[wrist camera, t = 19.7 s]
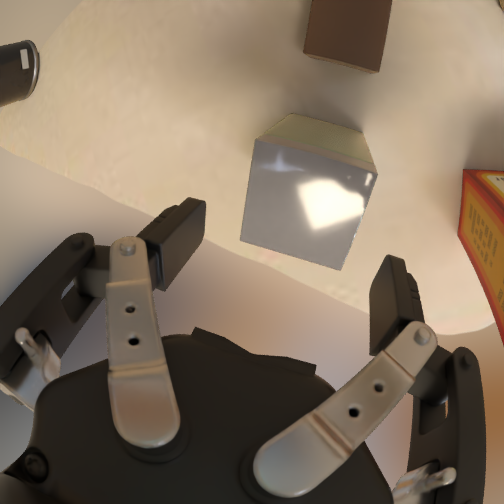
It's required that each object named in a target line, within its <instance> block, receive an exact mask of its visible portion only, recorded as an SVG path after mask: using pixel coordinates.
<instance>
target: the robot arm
mask: <svg viewBox="0 0 504 504" xmlns="http://www.w3.org/2000/svg"><path fill="white" fill-rule="evenodd" d="M38 69H39V58H38V52H37V48H36V46H35V44H34V43H33V42H32V41H30V40H25V41H21V42H18V43H13V44H8V45H3V46H0V107H2V106H5V105H8V104H11V103H13V102H16V101H20V100H24V99H26V98H28V97H29V96H30V94H31V93H32V91H33V89H34V87H35V84H36V81H37V76H38ZM205 215H206V202H205V201H203V200H199V199H195V198H191V197H188V198H187V199H186V200H185V201H183V202H182V203H181V204H180V205H179V206H177V205H174V206H172V207H169V208H167V209H165V210H164V211H163V212H162V213H161V214H160V215H159V216H157V217H156V218H155V219H154V220H153V221H152V222H151V223H150V224H149V225H147V226H146V227H145V228H144V229H143V230H142V231H141V232H140V233H139V234H138V235H137V236H136V237H133V236H128V237H123V238H120V239H118V240H116V241H115V242H114V243H113V244H112V245H111V246H101V245H95V243H94V238H93V236H92V235H90V234H88V233H76V234H73V235H71V236H69V237H68V238H66V239H65V240H64V241H63V242H62V243H61V244H60V245H59V246H58V247H57V248H56V249H54V251H52V252H51V254H49V255H48V256H47V257H46V258H45V259H44V260H43V261H42V262H41V263H40V264H39V265H38V266H37V267H36V268H35V269H34V270H33V271H32V272H31V273H30V274H29V275H28V276H27V277H26V279H25V280H24V281H23V282H22V283H21V284H20V285H19V286H18V287H17V288H16V289H15V290H14V292H13V293H12V294H11V295H10V296H9V297H8V298H7V300H6V301H5V302H4V303H3V304H2V305H1V306H0V389H1V390H2V391H3V392H4V393H5V394H7V395H9V396H10V397H11V398H12V399H13V400H14V401H15V402H17V403H18V404H20V405H26V406H27V407H28V408H29V409H31V410H32V411H33V412H34V419H33V428H32V433H31V437H30V441H29V444H28V446H27V448H26V450H25V452H24V453H23V454H22V455H21V456H20V457H19V458H18V459H17V460H16V461H15V462H14V463H12V464H11V465H10V466H9V467H7V468H6V469H5V470H3V471H2V472H1V473H0V504H483V497H484V486H485V471H486V424H485V409H484V400H483V399H484V398H483V390H482V382H481V375H480V368H479V363H478V360H477V358H476V356H475V355H474V353H473V352H471V351H470V350H469V349H468V348H465V347H458V348H457V349H456V350H455V351H454V352H453V353H451V352H449V351H447V350H445V349H444V348H442V347H440V346H439V345H437V342H438V341H437V337H436V334H435V333H434V331H433V330H432V329H431V328H430V327H429V326H428V325H427V324H425V321H424V315H423V310H422V305H421V301H420V295H419V293H418V292H419V291H418V286H417V283H416V281H415V279H414V278H413V276H412V275H411V274H410V273H407V270H406V266H405V261H404V259H401V258H398V257H395V256H392V255H389V254H388V255H386V257H385V258H384V260H383V262H382V264H381V266H380V268H379V270H378V272H377V274H376V276H375V278H374V280H373V282H372V285H371V288H370V293H369V302H370V353H369V354H370V355H371V356H375V357H374V358H373V359H372V360H371V361H370V362H369V363H368V364H367V365H366V366H365V367H364V368H363V369H362V370H361V371H360V372H358V373H357V374H356V375H355V376H354V377H353V378H352V379H351V380H350V381H348V382H347V383H346V384H345V385H344V386H343V387H341V388H340V389H339V390H338V391H337V392H336V391H335V389H334V388H333V387H332V386H331V385H330V384H329V383H328V382H326V381H325V380H324V379H322V378H321V377H319V376H317V375H316V374H315V371H316V365H315V364H311V363H307V362H303V361H300V360H296V359H293V358H289V357H282V356H269V355H256V354H252V353H249V352H248V351H247V350H245V349H243V348H241V347H240V346H238V345H236V344H235V343H233V342H231V341H230V340H228V339H226V338H225V337H222V336H219V335H217V334H214V333H211V332H208V331H205V330H202V329H200V328H197V327H195V328H194V330H193V332H192V334H191V335H186V334H176V335H168V336H163V337H161V335H160V330H159V325H158V319H157V314H156V309H155V303H154V297H153V291H154V289H155V288H157V289H159V290H162V291H166V289H167V288H168V287H169V285H170V284H171V282H172V281H173V280H174V278H175V277H176V276H177V274H178V273H179V272H180V270H181V269H182V268H183V266H184V265H185V264H186V262H187V261H188V260H189V258H190V257H191V256H192V254H193V253H194V252H195V250H196V249H197V248H198V247H199V245H200V244H201V242H202V240H203V236H204V231H205ZM72 280H73V282H74V286H73V287H72V288H71V289H70V290H69V291H68V293H67V294H66V295H65V296H64V297H63V299H62V300H61V296H62V293H63V291H64V289H65V288H66V287H67V286H68V285H69V283H70V282H71V281H72ZM103 298H105V299H106V332H107V349H108V359H105V360H103V361H100V362H98V363H95V364H92V365H90V366H87V367H85V368H82V369H79V370H77V371H74V372H72V373H69V374H66V375H63V376H61V377H60V376H59V372H60V369H61V362H60V359H61V357H62V356H63V354H64V353H65V351H66V349H67V348H68V347H69V345H70V344H71V342H72V341H73V339H74V338H75V337H76V335H77V334H78V332H79V331H80V330H81V328H82V327H83V325H84V324H85V323H86V321H87V320H88V318H89V317H90V316H91V314H92V313H93V312H94V310H95V309H96V308H97V306H98V305H99V304H100V302H101V301H102V300H103ZM407 392H408V393H409V394H411V395H413V397H414V398H413V419H412V432H411V442H410V451H409V460H408V466H407V473H405V474H404V475H403V476H402V477H400V479H399V480H398V482H397V484H396V487H395V488H394V489H393V491H391V489H390V487H389V485H388V483H387V481H386V479H385V478H384V476H383V474H382V472H381V471H380V469H379V467H378V465H377V463H376V461H375V459H374V458H373V456H372V454H371V452H370V450H369V448H368V447H367V445H366V443H365V441H364V440H365V439H366V438H367V437H368V436H369V435H370V434H371V433H372V432H373V431H374V430H375V428H376V427H378V425H379V424H380V423H381V422H382V421H383V420H384V419H385V418H386V417H387V415H388V414H389V413H390V412H391V411H392V409H393V408H394V407H395V406H396V405H397V404H398V402H399V401H400V400H401V399H402V398H403V396H404V395H405V394H406V393H407ZM446 400H448V414H447V417H446V416H445V415H446V414H445V412H446V411H445V401H446ZM445 417H446V418H445Z"/></svg>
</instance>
